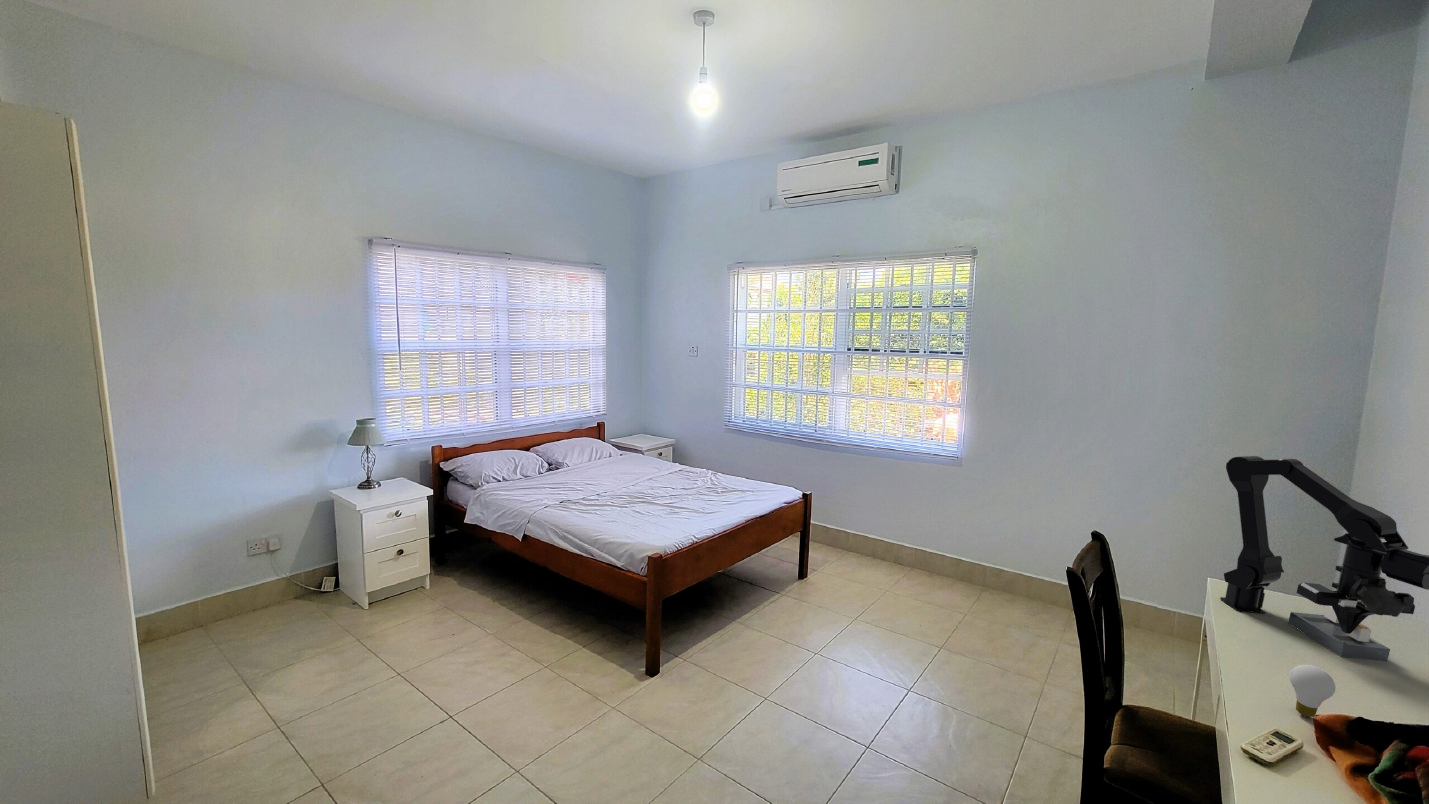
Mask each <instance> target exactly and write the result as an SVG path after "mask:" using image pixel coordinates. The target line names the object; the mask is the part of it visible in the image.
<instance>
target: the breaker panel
mask: <svg viewBox="0 0 1429 804" xmlns="http://www.w3.org/2000/svg"><path fill="white" fill-rule="evenodd" d="M1324 615H1325V614H1318V613H1317V614H1316V613H1304V612H1295V611H1290V613H1289V618H1288V624H1289V623H1290V624H1291V625H1290V624H1289V625H1290V626H1292V625H1293V626H1294V627H1293V626H1292V627H1293V628H1295V627H1296V628H1295V629H1297V628H1298V629H1299V630H1298V629H1297V630H1298V631H1300V630H1301V631H1302V632H1301V631H1300V632H1301V633H1303V632H1304V633H1303V634H1305V636H1308V637H1309V638H1310V639H1313V641H1315V640H1316V641H1315V642H1317V641H1318V642H1319V643H1318V642H1317V643H1318V644H1320V645H1322V646H1323V645H1324V646H1323V647H1324V648H1326V647H1327V648H1326V649H1328V650H1329V649H1330V650H1329V651H1332V652H1333V653H1334V654H1336V655H1338V656H1339V657H1341V658H1351V659H1359V660H1366V661H1367V660H1368V661H1369V660H1370V661H1379V662H1388V661H1389V656H1390V652H1391V648H1389V647H1388V646H1387V645H1386V646H1385V645H1384V644H1382V643H1381V642H1379V641H1377V640H1375V639H1374V638H1372V637H1370V639H1369V642H1363V641H1358V640H1356V639H1354V638H1352V637H1351V636H1349V635H1347V634H1346V633H1344V632H1343V631H1342V629H1341V627H1340V624H1339V623H1335V622H1333V621H1331V620H1330V619H1328V618H1326V617H1324Z"/></svg>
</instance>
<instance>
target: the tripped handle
mask: <svg viewBox="0 0 1429 804" xmlns="http://www.w3.org/2000/svg"><path fill="white" fill-rule="evenodd" d="M1371 634H1372V629H1371V628H1369V627H1368V626H1367V625H1364V624H1362V622H1361V623H1360V624H1359V625H1358V626H1357V627H1356V628H1355V629H1354V630H1353V631H1352V633H1351V634H1347V635H1349V636H1351V637H1352V638H1354V639H1356V640H1358V641H1363V642H1369V639H1370V638H1371Z"/></svg>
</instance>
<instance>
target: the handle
mask: <svg viewBox="0 0 1429 804" xmlns="http://www.w3.org/2000/svg"><path fill="white" fill-rule="evenodd" d="M1323 615H1324V617H1326V618H1328V619H1330V620H1331V621H1333V622H1335V623H1339V622H1338V619H1337V617H1336V614H1335V612H1334V610H1333V608H1332V606H1325V612H1324V614H1323Z"/></svg>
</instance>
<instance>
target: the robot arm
mask: <svg viewBox="0 0 1429 804" xmlns="http://www.w3.org/2000/svg"><path fill="white" fill-rule="evenodd" d="M1225 470H1226V472H1227V476H1228V477H1227V478H1228V479H1229V482H1230V483H1231V484H1232V486H1233V488H1234V489H1235V490H1236V492H1237V499H1238V510H1239V521H1240V529H1241V538H1242V539H1241V540H1242V549H1241V551H1240V553H1239V555H1238V557H1237V562H1236V568H1235V569H1232V570H1229V571H1227V572H1224V573H1223V578H1224V581H1225V583H1227V588H1226V592H1225V597H1223V596H1220V598H1219V599H1220V600H1221V601H1222V602H1224V603H1225V604H1227V605H1229V606H1230V607H1231V608H1232V609H1234V610H1236V611H1238V612H1244V613H1245V612H1247V613H1256V614H1266V611H1265V610H1264V609H1262V608H1263V605H1264V602H1265V601H1264V600H1265V597H1266V596H1265V595H1266V594H1265V593H1266V592H1265V587H1266V588H1267V587H1269V586H1270V585H1271V584H1272V583H1274V582H1277V581H1278V580H1280V579H1281V577H1282V573H1284V572H1285V571H1284V569H1283V565H1282V564H1283V563H1282V562H1283V558H1282V556H1281V555H1275V554H1274V553H1273V552H1272V550H1271V549H1270V546H1269V544H1270V543H1269V537H1268V536H1269V535H1268V527H1267V525H1268V524H1267V517H1266V509H1265V508H1266V507H1265V499H1264V490H1265V488H1266V485H1267V483H1268V481H1269V477H1270V476H1273V475H1275V476H1277V475H1278V476H1282V477H1283V478H1285V479H1286V480H1287V481H1289V482H1290V483H1292V484H1293V485H1294V486H1295V487H1297V488H1298V489H1299V490H1301V491H1302V492H1304V493H1305V494H1306V495H1308V496H1309V497H1310V498H1311V499H1313V500H1315V501H1316V502H1317V503H1319V504H1320V505H1321V506H1323V507H1324V508H1325V509H1327V510H1328V511H1329V512H1330V513H1331V514H1332V515H1333V516H1334V518H1335V520H1336V522H1337V523H1338V525H1340V526H1341V527H1342V528H1343V529H1344V530H1345V531H1346V533H1344V534H1343V535H1341V536H1337V537H1334V539H1333V540H1334V541H1335V542H1337V543H1341V544H1343V545H1346V547H1345V550H1344V551H1345V552H1344V554H1343V555H1344V556H1343V559H1342V564H1341V565H1336V566H1335V568H1334V569H1335V571H1337V572H1340V573H1339V577H1338V582H1331V587H1332V588H1334V589H1335V590H1331V589H1329V587H1328V588H1327V587H1326V586H1324V585H1322V584H1319V583H1313V582H1312V583H1311V582H1301V583H1299V584H1297V589H1296V594H1298V595H1300V596H1302V597H1303V598H1305V599H1307V600H1309V601H1310V602H1312V603H1313V604H1316V605H1319V606H1325V607H1326V606H1332V608H1333V610H1334V612H1335V614H1336V617H1337V619H1338V622H1339V624H1340V627H1341V629H1342V631H1343V632H1344V633H1346V634H1351V633H1352V631H1353V630H1354V629H1355V628H1356V627H1357V626H1358V625H1359V624H1360V623H1361V624H1362V623H1363V621H1364V620H1365V619H1366V618H1368V617H1369V616H1374V615H1378V616H1390V617H1395V618H1397V617H1399V615H1400V614H1407V615H1414V612H1415V609H1416V605H1415V604H1414V603H1415V597H1414V596H1412V595H1411V594H1410V593H1407V592H1406V593H1405V592H1396V591H1393V590H1388V588H1387V587H1386V585H1387V581H1386V580H1387V579H1386V578H1384V577H1382V576H1381V573H1382V574H1385V576H1386V577H1388V578H1390V579H1393V580H1396V581H1398V582H1402V583H1405V584H1407V585H1411V586H1414V587H1418V588H1420V589H1423V590H1427V591H1428V590H1429V554H1423V553H1418V552H1416V551H1411V550H1409V546H1408V544H1406V542H1405V540H1404V539H1403V538H1402V536H1401V535H1400V533H1399V531H1398V528H1397V522H1396V520H1395V519H1394V518H1393V517H1391V516H1390V515H1388V514H1386V513H1384V512H1382V511H1380V510H1379V509H1377V508H1375V507H1372V506H1369V505H1367V504H1365V503H1361V502H1359V501H1357V500H1355V499H1353V498H1351V497H1350V496H1348V495H1347V494H1346V493H1344V492H1343V491H1341V490H1340V489H1338V487H1335V486H1334V485H1333V484H1331V483H1330V482H1329V481H1327V480H1325V479H1324V478H1322V476H1320V475H1318V474H1317V473H1315V472H1314V471H1313V470H1311V469H1310V468H1308V467H1307V466H1306V465H1304V464H1303V462H1302V461H1300V460H1299V459H1296V458H1281V459H1264V458H1262V457H1261V456H1258V455H1246V456H1242V455H1241V456H1234V457H1232V458H1230V459H1229V460H1228V461H1226V464H1225ZM1382 540H1384V542H1383V541H1382Z"/></svg>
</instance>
